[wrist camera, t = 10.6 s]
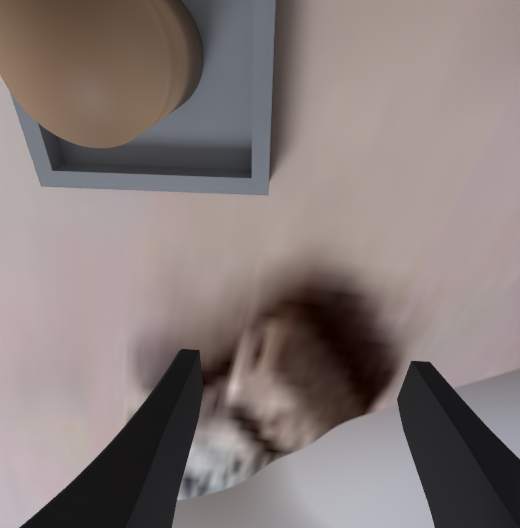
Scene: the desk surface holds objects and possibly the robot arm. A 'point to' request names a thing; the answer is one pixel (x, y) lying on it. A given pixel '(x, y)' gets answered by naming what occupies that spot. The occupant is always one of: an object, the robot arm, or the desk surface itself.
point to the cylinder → (99, 64)
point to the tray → (188, 119)
